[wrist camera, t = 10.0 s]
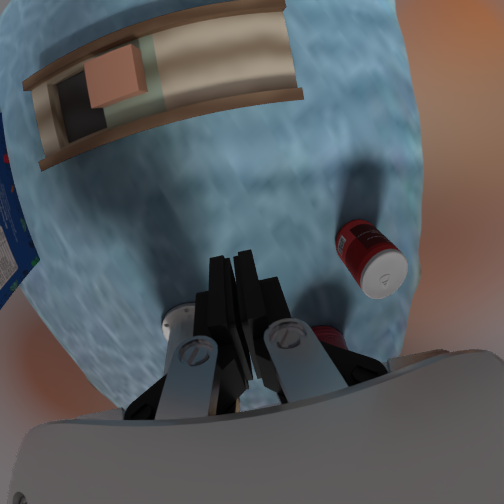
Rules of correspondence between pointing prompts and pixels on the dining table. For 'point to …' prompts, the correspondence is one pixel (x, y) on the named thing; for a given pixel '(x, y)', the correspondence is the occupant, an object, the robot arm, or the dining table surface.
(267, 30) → the channel board
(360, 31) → the dining table surface
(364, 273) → the canned food
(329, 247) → the dining table surface
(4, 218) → the pasta box
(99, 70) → the block
